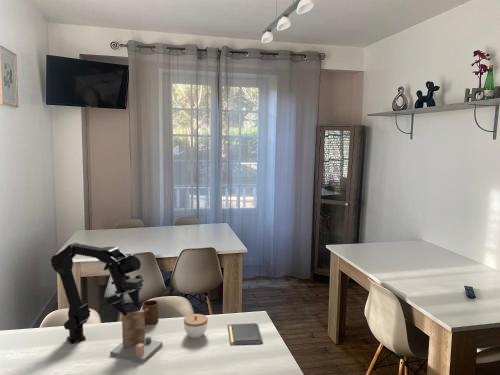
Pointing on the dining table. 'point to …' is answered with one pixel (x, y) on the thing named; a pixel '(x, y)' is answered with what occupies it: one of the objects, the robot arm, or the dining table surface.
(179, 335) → the dining table surface
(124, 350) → the board
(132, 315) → the brown wooden panel
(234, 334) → the grey book
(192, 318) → the lidded jar
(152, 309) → the mug
